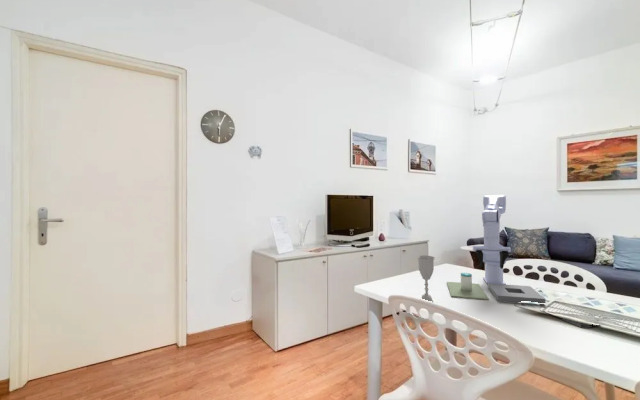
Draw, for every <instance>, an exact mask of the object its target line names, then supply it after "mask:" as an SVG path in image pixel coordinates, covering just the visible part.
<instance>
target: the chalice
mask: <svg viewBox="0 0 640 400" xmlns="http://www.w3.org/2000/svg"><path fill="white" fill-rule="evenodd" d="M417 260H418V271H419V274H420V276H421V277H422V279H423V280H424V292H425V293H423V294H422V295H421V298H422V299H425V300H428V301H432V303H434V300H433V298H432V296H431V294H429V287H428V286H429V283H428V281H429V280H431V278H432V276H433V274H434V263H435V262H434V260H435V256H431V255H418V256H417ZM421 298H420V299H421Z"/></svg>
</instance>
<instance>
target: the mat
mask: <svg viewBox="0 0 640 400" xmlns="http://www.w3.org/2000/svg"><path fill="white" fill-rule="evenodd" d="M446 284H447V287H448V290H449V294H450V297H451V298H457V297H459V298H460V299H471V300H483V301H489V300H490V298H489V297H488V295H487V293H485V292H486V291H484V289H483V288H482V286H481V285H480V283H473V282H472V291H463V290H461V282H456V281H455V282H454V281H446Z"/></svg>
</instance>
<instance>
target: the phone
mask: <svg viewBox="0 0 640 400" xmlns="http://www.w3.org/2000/svg"><path fill="white" fill-rule="evenodd" d="M561 320H562V321H565V322H567V323H568V324H569V323H570V324H572V325H574V326H576V327H579V328H583V329H585V328H593V327H592V325H591V326H590V325H587V324H583V323H578V322H574V321H571V320H567V319H561Z"/></svg>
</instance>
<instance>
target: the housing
mask: <svg viewBox="0 0 640 400" xmlns="http://www.w3.org/2000/svg"><path fill="white" fill-rule="evenodd" d="M488 290H489V292H490V293H491V294H492V296H493V297H494V298H495V300H496V301H497V303H498V302H499V303H511V304H512V303H513V304H519V303H518V302H521V301H531V302H538V303H546V298H545V297H544V296H543V295H542V294H540V293H539V292H538V291H537V290H535V288H533V287H532V286H530V285H515V284H506V285H505V284H489V283H488Z"/></svg>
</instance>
